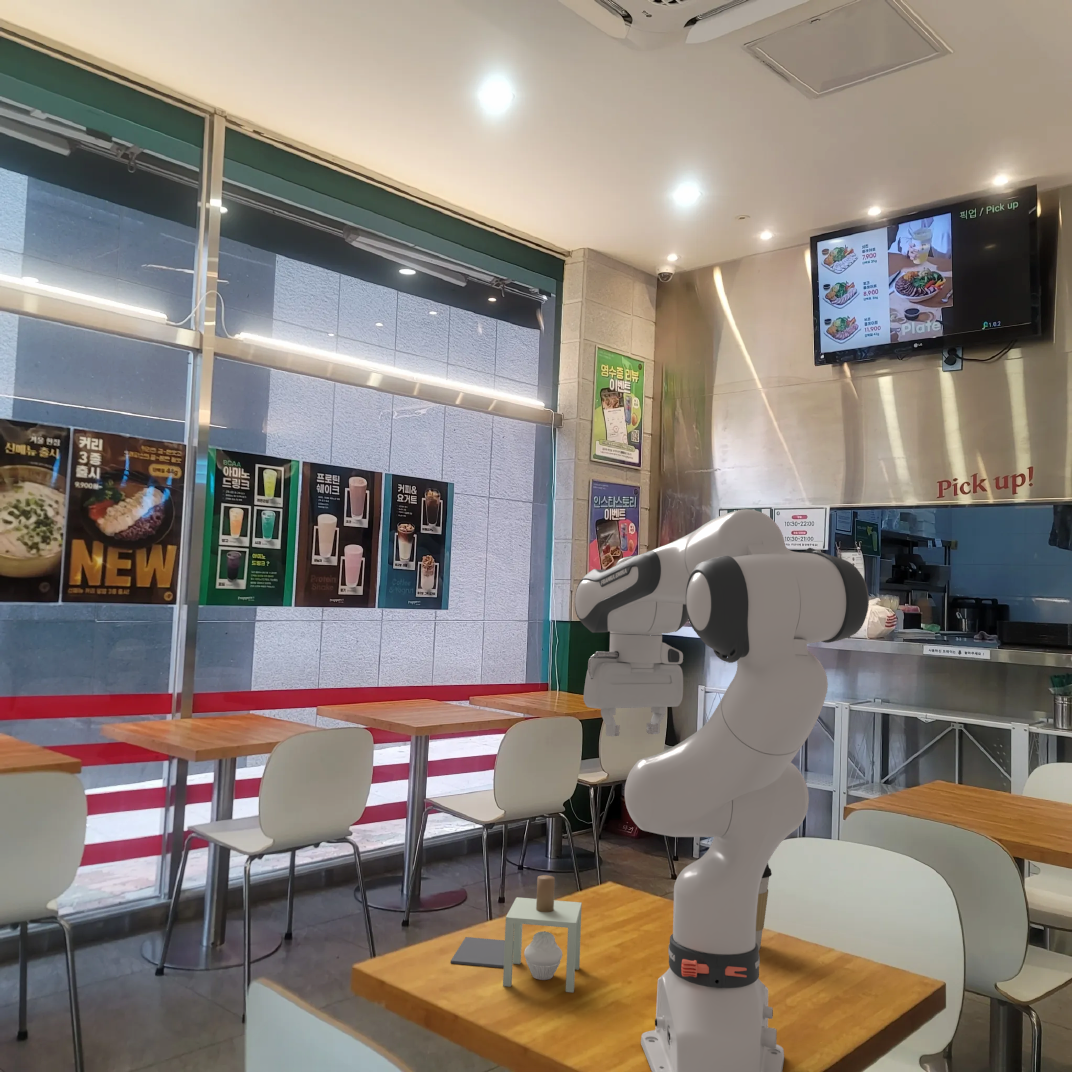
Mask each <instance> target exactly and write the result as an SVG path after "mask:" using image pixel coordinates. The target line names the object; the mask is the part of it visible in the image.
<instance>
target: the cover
mask: <svg viewBox="0 0 1072 1072" xmlns="http://www.w3.org/2000/svg"><path fill="white" fill-rule="evenodd" d="M555 881H556V878H555V876H552V875H546V874H543V875H539V876H537V880H536V898H529V897H515V899H514V901H513V903H512V905H511V907H510V908H509V910H508V912H507V914H506V916H505V925H504V926H505V927H504V928H505V929H504V930H505V931H504V940H505V948H504V968H503V972H502V973H503V975H502V977H503V978H502V986H503V987H511V986H512V985H513V965H521V964H522V963H521V961H522V947H523V946H522V943H523V941H522V939H523V925H531V926H540V927H541V926H542V927H543V926H544V927H554V928H555V927H556V928H565V929H566V928H567V942H566V943H567V945H566V946H567V948H566V974H565V976H566V977H565V992H566V993H574V992H575V980H576V979H575V976H576V973H575V972H576V970H580V965H581V964H580V963H581V961H580V960H581V959H580V957H581V936H582V935H581V933H582V928H581V927H582V907H583V906H582V904H583V903H582V902H577V901H565V900H557V899H556V900H555ZM513 941H514V944H513Z"/></svg>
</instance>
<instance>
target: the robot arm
mask: <svg viewBox="0 0 1072 1072" xmlns="http://www.w3.org/2000/svg"><path fill="white" fill-rule="evenodd" d="M869 600H870V597H869V590H868V585H867V582H866V580H865V578H864V577H863V575H862V574H861V572H860V571H859V569H858V568H857V567H856V566H855V565H854V564H853V563H851V562H850V561H848V560H847V559H843V558H841V557H838V556H834V555H831V554H827V553H823V552H821V551H820V550H817V549H815V548H812V547H808V548H807V549H806V550H805V551H801V552H798V551H793V550H790V549H789V548H787V546H786V544H785V538H784V535H783V532H782V531H781V529H780V527H779V525H778V524H777V523H776V522H775V520H773V519H772V518H771V517H770V516H768V515H767V514H766V513H764V512H762V511H759V510H756V509H748V508H747V509H738V510H736V511H734V510H733V511H731V512H728V513H724V514H722V515H720V516H717V517H715V518H713V519H711V520H710V521H708V522H706V523H704V524H703V525H701V526H700V527H698V528H696V529H695V530H693V531H692V532H690V533H688V534H687V535H684V536H682V537H680V538H677V539H676V540H674V541H672V542H670V543H667V544H664V545H662V546H659V547H657V548H654V549H651V550H648V551H645V552H643V553H641V554H638V555H630V556H629V555H628V556H625V557H622V558H620V559H619V560H618V561H617V562H616V564H615V565H614V566H612V567H611V568H608V569H607V570H606V569H599V568H593V569H592V570H590V571H589V572H587V574H585V575H584V576H583V577H582V578H581V579H580V581H579V582H578V584H577V586H576V590H575V594H574V610H575V611H574V612H575V614H576V617H577V619H579V622H580V623H581V624H583V626H584V627H585V628H586V629H588V630H589V631H590V632H591V633H592V634H594V633H608V632H609V651H602V650H601V651H595V652H594V654H592V655H591V656H590V658H589V659H588V661H587V662H588V663H587V671H586V676H585V681H584V682H585V683H584V689H583V702H584V704H585V706H586V707H587V708H590V709H600V715H601V717H602V720H603V722H604V724H605V735H606V736H607V737H619V735H620V730H621V729H620V728H621V726H620V725H619V724H618V725H617V724H616V721H615V718H614V716H615V715H616V713H617V712H616V711H617V709H631V708H632V709H634V708H635V709H636V708H642V709H643V708H650V712H651V713H652V716H651V719H650V721H649V722H646V734H648V735H649V734H650V735H659V734H660V732H661V723H662V722H663V719H664V717H665V715H666V708H667V707H668V708H669V707H671V708H673V707H679V706H680V705H681V703H682V701H683V695H684V674H683V669H682V667H681V666H680V665H681V664H682V663H683V662H684V660H683V659H684V654H683V652H682V651H681V650H679V649H677V648H675V647H674V646H673V647H672V646H671V645H669V644H667V643H666V642H663V634H670V633H675V632H678V631H679V630H681V629H682V628H683V627H684V626H685V625H686V623H688V622H689V624H690V626H691V628H692V630H693V631H694V632H695V634H696V635H697V636H698V638H700V640H701V641H702V642H703V643H704V644H705V645H706V646H707V647H709V648H711V649H712V650H713V653H714V654H715V656H716V657H717V658H718V659H719V660H721V661H724V662H726V663H728V664H732V663H736V666H737V667H736V672H735V674H734V677H733V679H732V680H731V682H730V683H729V685H728V687H727V688H726V691H725V692H724V693H723V696H722V697H721V699H720V701H719V703H718V704H717V706H716V708H715V709H714V711H713V713H712V714H711V716H710V717H709V719H708V720H707V722H706V723H705V724H704V725H702V727H700V729H698V730H697V731H695V732H694V733H693V734H691V735H689V736H688V737H687V738H686V739H684V740H682V741H681V742H678V744H675V745H674V746H672V747H670V748H669V749H666V750H664V751H662V752H659V753H657V754H654V755H651V756H647V757H643V758H641V759H638V760H637V761H636V763H635V764H634V765H633V767H632V768H631V769H630V771H629V772H628V775H627V778H626V780H625V785H624V802H625V806H626V809H627V812H628V814H629V817H630V818H631V820H632V821H633V823H634V824H635V825H636V826H637V827H638V828H639V829H640V830H642V831H644V832H649V833H653V834H657V835H661V836H667V837H673V838H707V837H708V838H713V839H712V842H711V845H710V846H709V848H708V849H707V851H706V852H705V853H704V854H703V855H702V856H701V857H700V858H699V859H697V860H695V861H693V862H691V863H690V864H688V865H687V866H685V867H684V868H683V869H682V870H681V871H680V873H679V874H678V876H677V878H676V880H675V882H674V886H673V911H672V912H673V916H672V918H673V920H672V922H673V923H672V934H670V937H669V943H668V947H667V948H668V965H669V966H668V969H667V970H666V971H665V972H664V973H663V974H662V975H661V976H660V977H659V978H658V979H657V987H656V988H657V989H656V991H657V992H656V1009H655V1010H656V1011H655V1013H656V1014H655V1019H654V1026H655V1029H653V1030H649V1031H645V1032H643V1033H642V1034H641V1037H640V1038H641V1039H640V1044H641V1047H642V1049H643V1052H644V1055H645V1057H646V1059H647V1062H648V1063H647V1064H648V1066H649V1068H650V1070H651V1072H783V1069H784V1068H783V1067H784V1061H785V1050H784V1048H783V1047H782V1045H779V1044H777V1038H778V1037H777V1028H774V1027H769V1020H770V1019H771V1020H773V1017H774V1008H773V1007H772V1006H769V988H768V987H767V986H766V985H765V984H764V983H763V982H762V981H761V980H760V979H759V977H760V964H761V962H760V953H759V951H760V950H758V944H757V943H756V915H757V902H758V892H759V886H760V882H761V879H762V875H763V873H764V870H765V868H766V866H767V863H768V864H769V861H770V860H771V858H772V856H773V854H774V852H775V851H776V850H777V848H778V847H779V846H780V845H781V844H782V843H783V841H784V840H785V839H786V838H787V837H788V836H789V835H791V833H793V832H795V831H796V830H797V829H799V827H800V826H801V825H802V823H803V822H804V820H805V818H806V817H807V816H806V815H807V813H808V811H809V810H808V809H809V802H810V796H809V795H810V794H809V789H808V785H807V782H806V780H805V778H804V776H803V774H802V773H801V772H800V770H799V768H797V766H796V765H795V764H794V763H793V762H792V761H793V760H794V758H795V757H796V755H797V754H798V752H799V751H800V749H801V748H802V746H803V745H804V744H805V742H806V741H807V740H808V737H809V736H810V735H811V733H812V730H813V728H814V727H815V726H816V724H817V721H818V718H820V717H819V716H820V714H821V711H822V709H823V706H824V704H825V700H826V697H827V693H828V686H829V683H828V676H827V672H826V670H825V668H824V666H823V664H822V663H821V662H820V660H819V659H818V658H817V656H815V655H814V654H813V653H812V652H811V651H809V650H808V644H815V643H819V642H822V643H825V644H829V643H834V642H838V641H841V640H845V639H847V638H850V637H852V636H854V635H855V634H857V633H859V631H860V630H861V628H862V627H863V625H864V623H865V620H866V619H867V615H868V611H869V602H870V601H869Z"/></svg>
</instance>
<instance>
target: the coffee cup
mask: <svg viewBox="0 0 1072 1072" xmlns="http://www.w3.org/2000/svg"><path fill="white" fill-rule="evenodd" d="M772 875H773V874H772V870H771V868H770V866H769V862H768V863H767V866H766V868H765V870H764V873H763V875H762V879H761V882H760V886H759V892H758V902H757V915H756V943H757V944H758V950H759V951H760V950H761V944H762V938H763V937H762V936H763V930H764V927H765V919H766V911H767V904H768V897H769V889H768V888H769V882H770V881H769V879H770V877H771V876H772Z"/></svg>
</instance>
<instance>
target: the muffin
mask: <svg viewBox="0 0 1072 1072" xmlns="http://www.w3.org/2000/svg"><path fill="white" fill-rule="evenodd" d="M523 954H524V955H523V956H524V958H525V963H526V965H527V966H528V969H529V971H530V974H531V976H532V978H534V979H536V980H541V981H546V980H547V981H548V980H551V979H552V978H553V977H554V975H555V974H556V971H557V969H558V968H559V966H560V964H561V960H562V958H563V950H562V949H561V948H560V946H559V945H558V944H557V942H556V937H555V935H554V934H553V933H552V932H549V931H537V932H536V933H535V934H534V935H533V937H532V940H531V942H530V943H529V944H528V945H527V946H526V947H525V949H524V953H523Z"/></svg>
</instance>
